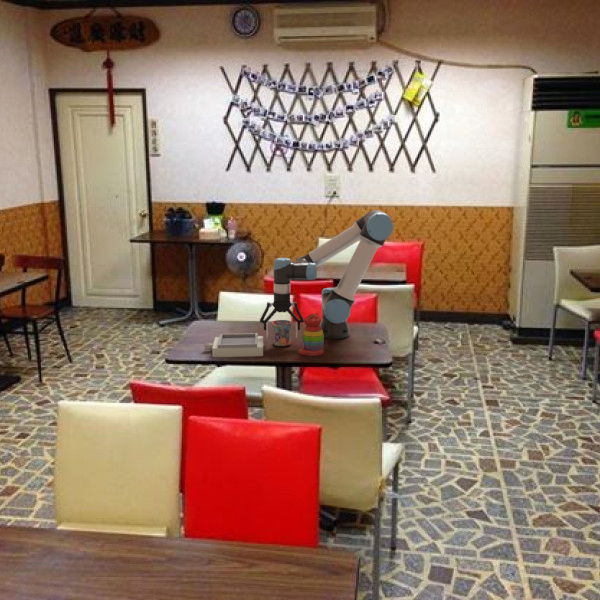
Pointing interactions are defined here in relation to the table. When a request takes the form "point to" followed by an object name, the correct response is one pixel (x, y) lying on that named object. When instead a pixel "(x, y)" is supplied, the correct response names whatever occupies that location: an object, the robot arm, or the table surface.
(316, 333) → the stacking bear
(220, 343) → the open box
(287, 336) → the mug
